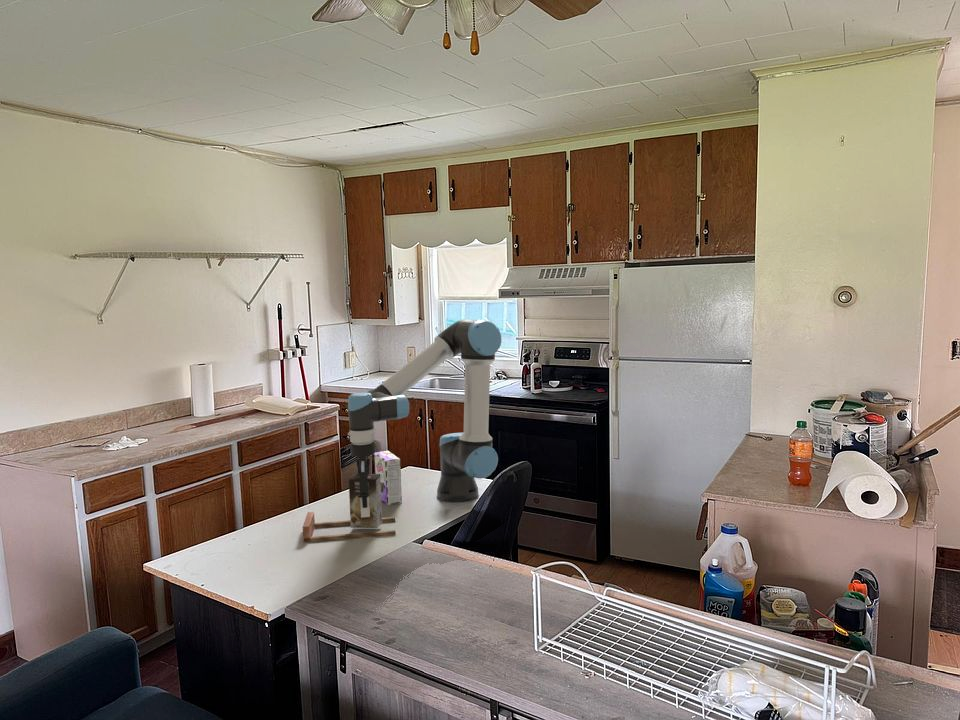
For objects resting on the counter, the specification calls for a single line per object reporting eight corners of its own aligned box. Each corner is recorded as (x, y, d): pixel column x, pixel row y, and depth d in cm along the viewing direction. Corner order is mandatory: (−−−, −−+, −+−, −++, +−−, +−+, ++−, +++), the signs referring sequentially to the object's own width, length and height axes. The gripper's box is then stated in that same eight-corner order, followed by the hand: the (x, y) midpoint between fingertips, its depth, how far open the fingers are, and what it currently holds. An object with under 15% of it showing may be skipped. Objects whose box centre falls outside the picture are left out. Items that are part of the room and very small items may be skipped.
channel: (395, 520, 223) (394, 505, 222) (395, 535, 210) (394, 519, 209) (308, 527, 219) (307, 512, 219) (303, 542, 206) (302, 526, 206)
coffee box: (349, 528, 212) (347, 479, 210) (355, 521, 219) (352, 473, 217) (378, 528, 211) (375, 478, 210) (383, 521, 218) (380, 473, 216)
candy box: (375, 495, 251) (373, 452, 249) (391, 492, 253) (389, 449, 251) (386, 505, 238) (384, 460, 236) (402, 503, 241) (400, 458, 239)
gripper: (351, 435, 221) (355, 503, 224) (348, 450, 202) (352, 524, 204) (374, 434, 222) (378, 501, 225) (373, 448, 203) (377, 522, 205)
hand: (365, 512), depth 215 cm, fingers closed on coffee box, 7 cm apart
